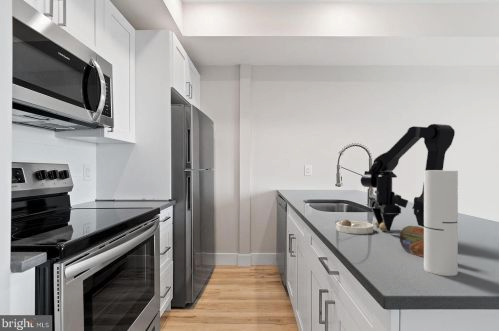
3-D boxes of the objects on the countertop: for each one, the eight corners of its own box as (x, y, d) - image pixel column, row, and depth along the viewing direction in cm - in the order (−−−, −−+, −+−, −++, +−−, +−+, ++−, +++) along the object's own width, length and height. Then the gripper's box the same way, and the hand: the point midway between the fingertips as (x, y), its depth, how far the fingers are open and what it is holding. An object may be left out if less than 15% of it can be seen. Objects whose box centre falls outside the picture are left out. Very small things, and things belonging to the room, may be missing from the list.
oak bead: (389, 232, 118) (389, 223, 118) (379, 231, 120) (379, 222, 120) (389, 230, 122) (389, 221, 122) (379, 230, 123) (379, 221, 123)
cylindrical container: (463, 276, 72) (463, 171, 72) (430, 274, 73) (430, 170, 73) (449, 266, 79) (449, 170, 79) (419, 265, 80) (419, 170, 80)
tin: (399, 250, 94) (399, 223, 94) (406, 249, 95) (406, 222, 95) (448, 265, 80) (448, 233, 80) (455, 263, 82) (455, 232, 82)
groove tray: (372, 235, 114) (372, 228, 114) (334, 231, 120) (334, 225, 120) (373, 228, 127) (373, 222, 127) (339, 225, 133) (338, 219, 133)
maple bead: (383, 227, 127) (383, 219, 127) (374, 227, 129) (374, 218, 129) (383, 226, 131) (383, 217, 131) (374, 225, 132) (374, 217, 132)
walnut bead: (350, 230, 120) (350, 220, 120) (341, 229, 121) (341, 220, 121) (351, 228, 123) (351, 219, 123) (342, 227, 124) (342, 218, 124)
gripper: (416, 190, 111) (415, 234, 111) (396, 187, 129) (396, 223, 129) (384, 190, 112) (384, 233, 112) (369, 186, 130) (369, 223, 130)
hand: (384, 228), depth 121 cm, fingers open, 9 cm apart
